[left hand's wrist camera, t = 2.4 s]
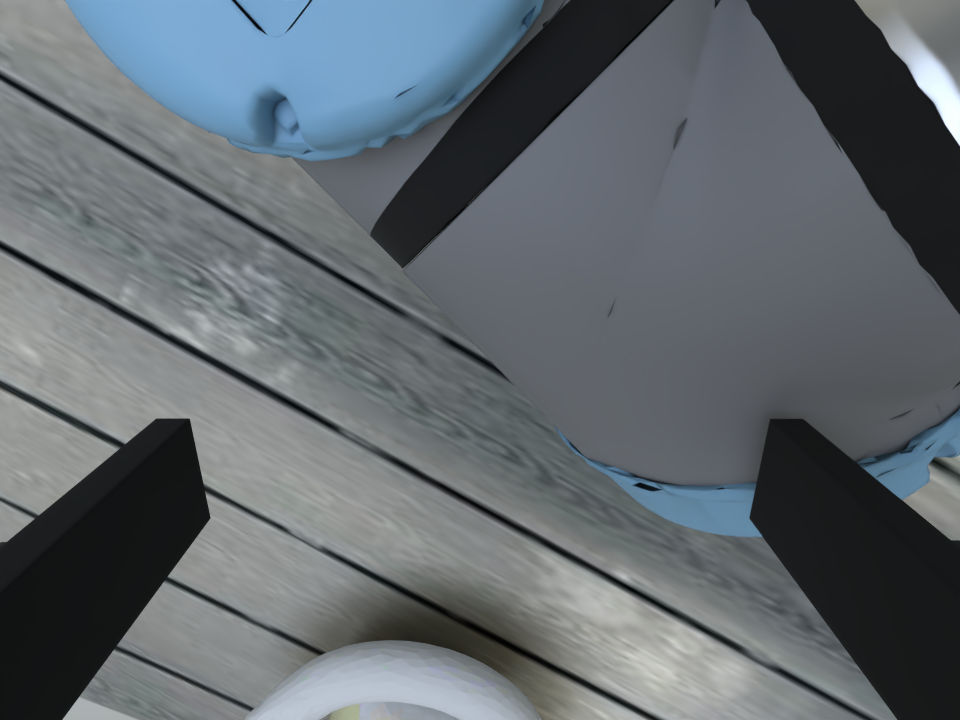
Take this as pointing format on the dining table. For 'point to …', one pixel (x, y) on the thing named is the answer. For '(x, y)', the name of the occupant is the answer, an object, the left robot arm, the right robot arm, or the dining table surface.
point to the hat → (395, 687)
